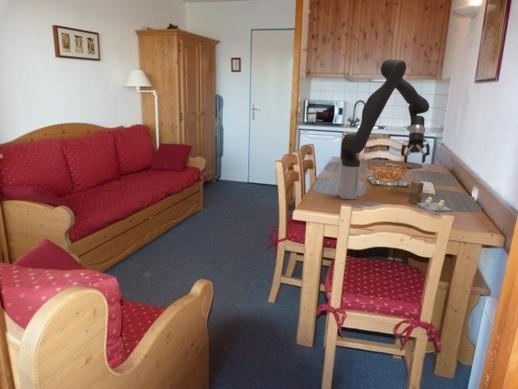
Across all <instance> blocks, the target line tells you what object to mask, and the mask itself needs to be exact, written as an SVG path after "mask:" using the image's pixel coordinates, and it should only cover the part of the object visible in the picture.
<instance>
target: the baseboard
mask: <svg viewBox="0 0 518 389" xmlns="http://www.w3.org/2000/svg"><path fill="white" fill-rule="evenodd" d="M419 181H420V180H419ZM420 182H422V183H424V185H423V192H422V195H424V194H425V195H429V194H430V196H437V195H438V194H439V193H436V191H435V188H434V187H435V186H434V184H433V183H432V182H431V181H430V182H429V181H420Z"/></svg>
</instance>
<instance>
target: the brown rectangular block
mask: <svg viewBox="0 0 518 389" xmlns="http://www.w3.org/2000/svg"><path fill="white" fill-rule="evenodd" d="M422 182H423V181H422ZM422 182H420V180H411V182H410V188H409V195H408V196H409V197H408V202H410V203H411V204H413V205H417V203H422V197H423V194H422V192H423V185H424V183H422Z"/></svg>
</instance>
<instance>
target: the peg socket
mask: <svg viewBox="0 0 518 389" xmlns="http://www.w3.org/2000/svg"><path fill="white" fill-rule="evenodd" d="M432 200H433V197H430V196H429V197H427V199H425V202H421V203H417V204H416V206H418V207H420V208H421V209H423V210H425V209H427V210H432V211H437V212H438V213H452V212H453V209H451V208H449V206H448V207H447V206H446V205H445V200H443V199H439V202H432ZM437 212H436V213H437Z"/></svg>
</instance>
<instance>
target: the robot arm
mask: <svg viewBox="0 0 518 389" xmlns="http://www.w3.org/2000/svg"><path fill="white" fill-rule="evenodd" d="M406 71H407V64H406V62H405V61H404V60H401V59H386V60H384V61H383V62H382V63H381V66H380V73H381V75H382V77H383V78H384V79H385V81H384V83H383V84H382V85H381V86H379V87H378V88H377V89H376V90H375V91H374V92H373V93H372V94H371V95H370V96H369V97H368V98H367V100H366V102H365V104H364V105H363V108H362V110H361V111H362V112H361V122H360V125H359V127H358V130H356V132H355V133H348V134H346V135H344V136H343V138H342V140H341V148H340V159H341V166H340V167H341V169H340V178H339V179H338V185H337V186H338V188H337V197H338V198H339V199H345V200H356V199H357V196H358V187H359V186H358V185H359V178H360V169H361V168H360V167H361V166H360V165H361V160H360V159H359V158H358V155H357V154H360V153H361V152H362V151H363V150H364V149H365V147H366V145H367V143H368V141H369V138H370V136H371V133H372V131H373V129H374V127H375V125H376V123H377V121H378V120H379V118H380V116H381V114H382V113H383V111H384V109H385V107H386V105H387V103H388V102H389V99H390V97H391V96H392V95H393V92H394V91H395V89H396V91H398V93H399V94H400V95H401V97H402V98H403V100H404V101H405V102H406V103H407V104H408V106H407V107H408V112H409V113H408V114H409V116H410V118H409V119H410V126H409V131H408V132H409V133H408V143H407V145H406V144H402V145H401V150H400V155H401V157H403V162H404V163H405V164H408V159H409V158H408V157H409V155H411V154H415V153H416V154H418V153H420V154H421V155H422V156H421V163H422V164H424V163H425V162H426V157H427V156H430V154H431V152H430V151H431V150H430V149H431V148H430V147H431V146H430V144H429V143H428V142H426V143H424V142H425V141H424V140H425V119H426V118H425V116H422V115H421V114H424V113H427V112H428V111H430V110H429V109H430V103H429V102H428V100H427V99H426V98H424V97H423V96H422V95H421V94H420V93H419V92H417V90H416V88H415V87H414V86H413V85H412V84H411V83H410V82H408V81H407V80H405V79H404V78H403V77H404V75H405V73H406ZM424 148H425V149H426V152H425V151H424V150H423V149H424Z"/></svg>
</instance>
